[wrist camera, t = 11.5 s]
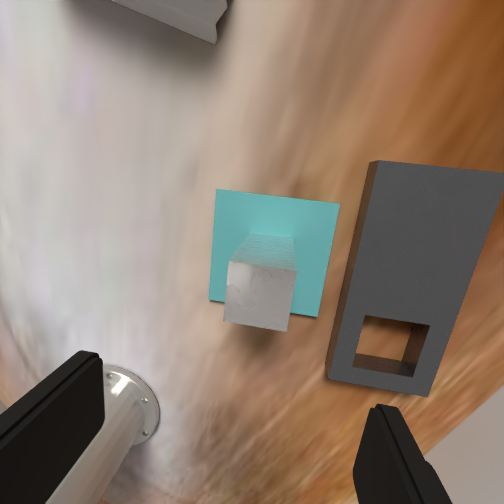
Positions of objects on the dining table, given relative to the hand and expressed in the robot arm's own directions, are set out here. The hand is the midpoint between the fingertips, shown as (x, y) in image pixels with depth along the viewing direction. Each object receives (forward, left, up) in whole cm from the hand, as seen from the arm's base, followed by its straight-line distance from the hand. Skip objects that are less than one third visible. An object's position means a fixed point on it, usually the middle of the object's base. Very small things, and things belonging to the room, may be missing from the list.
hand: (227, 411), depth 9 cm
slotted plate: (-1, -13, -19) cm, 23 cm away
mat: (0, 0, -19) cm, 19 cm away
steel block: (0, 0, -19) cm, 19 cm away
